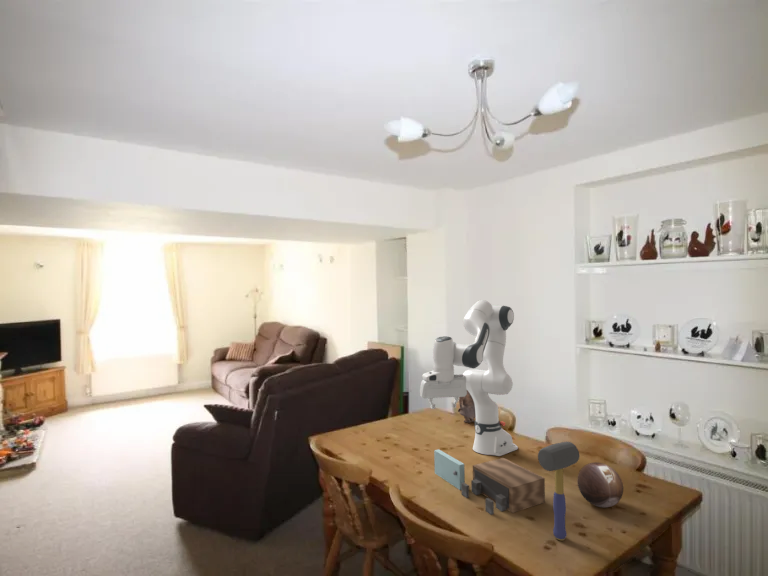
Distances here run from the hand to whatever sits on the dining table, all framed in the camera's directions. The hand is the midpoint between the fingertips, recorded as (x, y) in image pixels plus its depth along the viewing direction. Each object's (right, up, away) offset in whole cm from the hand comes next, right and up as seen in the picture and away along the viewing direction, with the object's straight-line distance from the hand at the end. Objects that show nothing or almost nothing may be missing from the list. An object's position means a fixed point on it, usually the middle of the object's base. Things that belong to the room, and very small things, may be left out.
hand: (443, 407), depth 185 cm
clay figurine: (+25, -29, +74) cm, 83 cm away
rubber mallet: (+31, -29, -47) cm, 63 cm away
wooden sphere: (+54, -29, -26) cm, 66 cm away
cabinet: (+19, -29, -19) cm, 39 cm away
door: (+2, -29, -4) cm, 30 cm away
